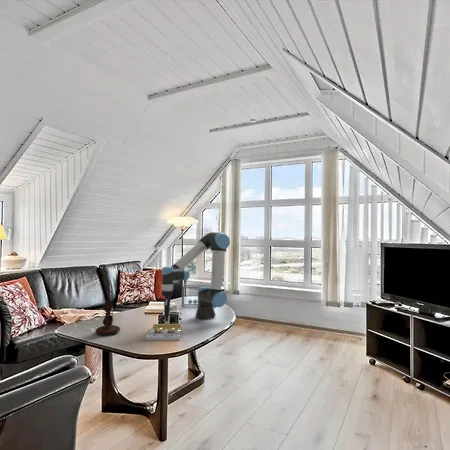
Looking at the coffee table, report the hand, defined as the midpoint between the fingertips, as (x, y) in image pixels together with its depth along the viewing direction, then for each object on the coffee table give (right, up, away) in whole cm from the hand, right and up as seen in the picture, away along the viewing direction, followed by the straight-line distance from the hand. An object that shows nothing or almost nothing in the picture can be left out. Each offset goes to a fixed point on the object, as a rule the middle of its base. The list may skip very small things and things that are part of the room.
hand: (166, 325), depth 234 cm
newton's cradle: (+16, -4, +72) cm, 74 cm away
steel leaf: (+1, -2, -17) cm, 17 cm away
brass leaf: (+1, -2, -6) cm, 7 cm away
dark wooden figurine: (-36, -2, -8) cm, 37 cm away
